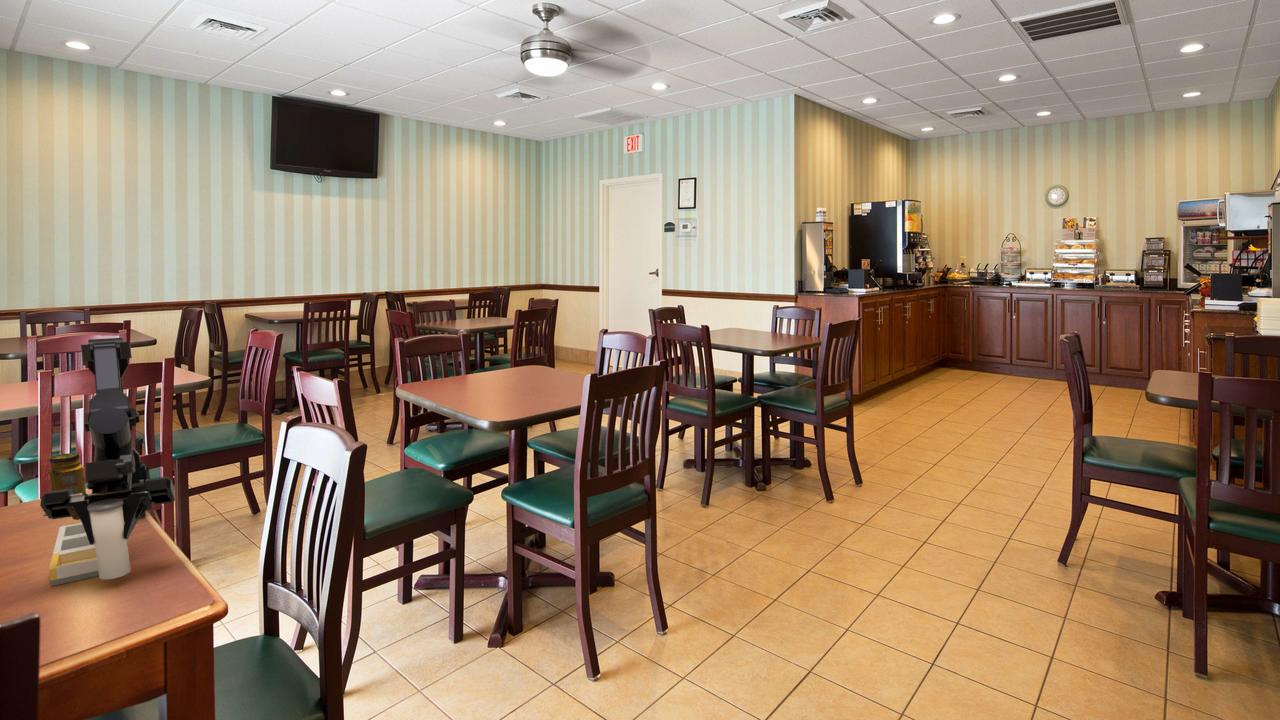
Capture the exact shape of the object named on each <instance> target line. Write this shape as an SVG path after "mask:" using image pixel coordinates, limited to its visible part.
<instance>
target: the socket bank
mask: <svg viewBox="0 0 1280 720" xmlns="http://www.w3.org/2000/svg"><path fill="white" fill-rule="evenodd" d="M48 575H49V582H50V586H51V587H53V586H57V585H61V584H67V583H71V582H72V583H73V582H77V581H81V580H86V579H90V578H95V577H99V573H98V566H97V559H96V552H95V545H94V544H93V545H90V543H89V540H88V538H87V535H86V532H85V530H84V527H83V524H82V522H79V523H78V522H77V523H75V524H68V525H67V524H66V525H63V526H60V527H59V529H58V533H57V536H56V542H55V545H54V548H53V553H52V556H51V559H50V563H49V567H48Z"/></svg>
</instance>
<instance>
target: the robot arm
mask: <svg viewBox="0 0 1280 720" xmlns="http://www.w3.org/2000/svg"><path fill="white" fill-rule="evenodd" d="M87 342H88V344H81V345H80V349H81V351H80V352H81V357H82V358H81V359H82V362H83V363H85V362H87V368H88V370H89V372H91V373H92V374H93V375H94V380H95V381H94V383H95V394H94V396H93V397H92V398H90V399H89V400H88V412H85V413H84V421H83V424H84V430H85V433H89V432H90V437H91V440H92V444H93V446H94V457H93V461H92V462H91V461H90V462H86V463H84V480H85V481H84V482H85V483H87V485H86V487H87V489H88V490H90V491H91V493H86V494H85V493H78V494H73V492H72V490H71V489H65V490H57V491H52V490H50V491H46V492H45V493H44V494H43V495H42V496H41V498H40V507H41V509H42V510H43V512H44V513H46V515H45V516H46V517H48V519H50V520H58V519H64V518H65V519H66V518H72V520H76V521H77V520H80V521H81V522H80V523H82V524H83V527H84V530H85V532H86V535H87V538H88V540H89V543H90V545H93V544H94V538H93V531H92V524H91V517H90V511H88V509H87V506H88V505H90V504H92V503H94V502H97V501H101V500H105V499H114V498H117V499H122V500H123V505H122V509H123V517H124V524H125V525H124V539H125V540H126V539H127V540H128V539H129V538H130V536H131V534H132V532H133V530H134V529H135V528H136V525H137V523H138V522H139V521H140V519H141V518H144V517H146V512H147V511H148V510H151V509H153V508H154V507H153V504H154V505H155V506H157V505H165V504H171V503H174V502H175V501H176V489H175V486H174V483H173V480H172V479H171V478H170V477H169V476H162V477H161V476H160V477H153V478H151V475H150V467H149V466H148V465H146V463H145V461H141V455H140V453H139V452H138V451H137V450H136V449H135V447H134V446H133V445H134V438H132V434H131V432H132V431H133V427H137V424H138V423H141V422H140V421H141V420H140V413H139V411H137V410H136V409H135V407H131V405H130V397H129V396H127V395H126V394H125V393H124V386H123V377H124V375H125V374H126V371H127V370H128V367H129V359H132V358H133V356H132V348H131V341H124V338H123V337H109V338H92V339H91V338H90V339H88V341H87Z"/></svg>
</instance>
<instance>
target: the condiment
mask: <svg viewBox="0 0 1280 720" xmlns="http://www.w3.org/2000/svg"><path fill="white" fill-rule="evenodd" d="M49 462H50V469H49V470H48V474H49V481H50V482H49V483H50V488H51V490H50V491H57V490H65V489H71V490H72V492H73V494H78V493H85V494H87V490H86V489H87V488H86V482H85V473H84V467H83V465H82V464H81V460H80V455H79V454H78V453H74V452H69V453H61V454H58V455H54V456H51V457H50V458H49ZM42 515H43V516H44V515H45V516H47V515H46V513H45V512H44V513H43V514H42Z"/></svg>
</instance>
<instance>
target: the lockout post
mask: <svg viewBox="0 0 1280 720" xmlns="http://www.w3.org/2000/svg"><path fill="white" fill-rule="evenodd" d="M122 505H123V500H122V499H117V498H114V499H105V500H101V501H97V502H94V503H92V504H90V505H88V506H87V509H88V511H90V517H91V524H92V531H93V538H94V545H95V552H96V559H97V566H98V573H99V576H98V577H99V579H100V580H114V579H117V578H120V577H124V576H126V575H127V574H129V573H130V572H131V562H130V556H129V548H128V539H126V540H125V539H124V525H125V520H124V517H123V509H122Z"/></svg>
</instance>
